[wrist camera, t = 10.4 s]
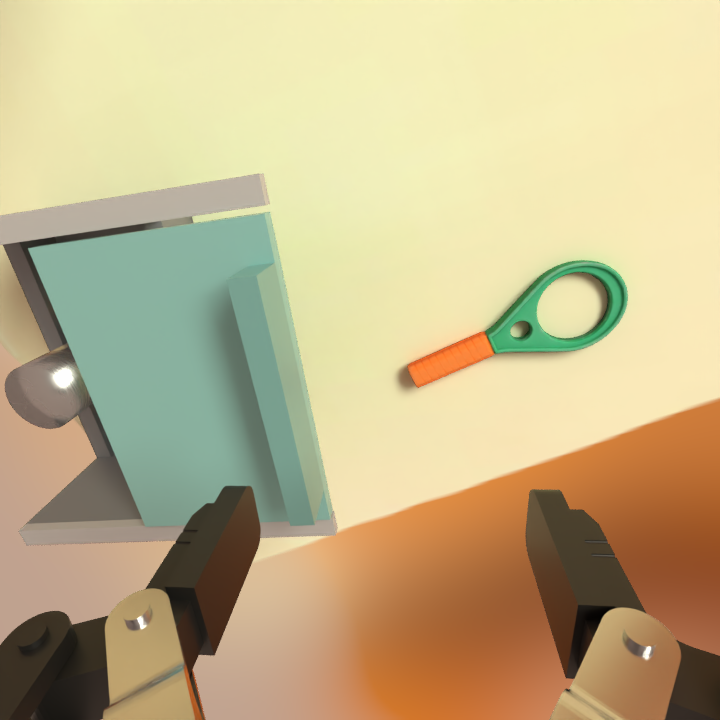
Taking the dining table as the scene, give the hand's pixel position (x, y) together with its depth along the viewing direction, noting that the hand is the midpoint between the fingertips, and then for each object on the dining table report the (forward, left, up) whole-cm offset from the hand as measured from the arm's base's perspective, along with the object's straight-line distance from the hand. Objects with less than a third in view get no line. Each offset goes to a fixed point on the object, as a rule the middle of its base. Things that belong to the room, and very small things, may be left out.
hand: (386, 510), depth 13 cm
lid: (0, -10, -9) cm, 13 cm away
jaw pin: (0, -20, -19) cm, 28 cm away
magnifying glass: (+2, +8, -21) cm, 22 cm away
